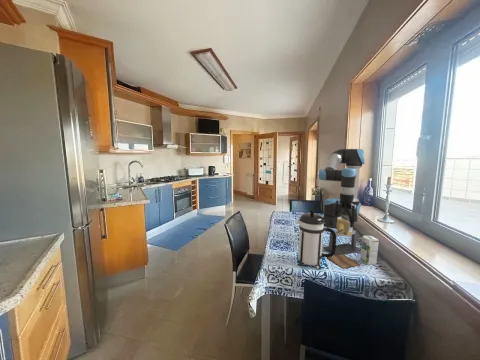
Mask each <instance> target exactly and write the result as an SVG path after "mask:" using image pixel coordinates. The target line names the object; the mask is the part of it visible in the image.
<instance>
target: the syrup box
mask: <svg viewBox="0 0 480 360" xmlns="http://www.w3.org/2000/svg"><path fill="white" fill-rule="evenodd" d="M361 238H362V239H361V247H360V249H361V252H360V258H359V260H360V261H361V262H362V263H364V264H365V265H366V266H375V265H377V261H378V260H377V259H378V251H379V245H380V244H379V241H380V239H378V238H377V237H376V238H375V237H374V236H372V235H362V237H361Z"/></svg>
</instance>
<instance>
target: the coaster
mask: <svg viewBox="0 0 480 360" xmlns="http://www.w3.org/2000/svg"><path fill="white" fill-rule="evenodd" d="M326 259H327V260H329V261H330V262H331V263H334V264H335V265H336V266H338V267H339V266H340V267H339V268H341V269H342V268H343V270H345V269H349V268H350V269H351V268H353V267H354V268H355V267H359V266H361V263H360V262H357V261H355V260H353V259H352V258H351V257H349V256H346V254H345V255H343V254H340V255H333V256H332V257H326Z"/></svg>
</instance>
